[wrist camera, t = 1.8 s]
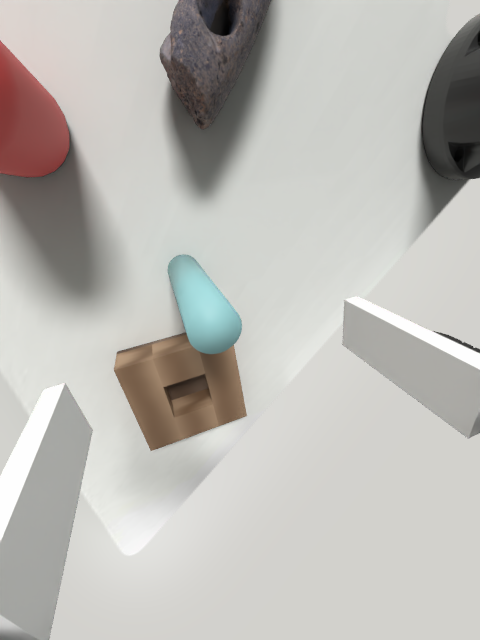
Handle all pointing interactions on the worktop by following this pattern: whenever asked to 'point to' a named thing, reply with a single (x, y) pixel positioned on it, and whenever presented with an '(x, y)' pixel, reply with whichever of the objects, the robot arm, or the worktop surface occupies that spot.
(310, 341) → the worktop surface
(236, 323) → the pin
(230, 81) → the perforated stone tool
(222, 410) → the board
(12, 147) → the beer can
